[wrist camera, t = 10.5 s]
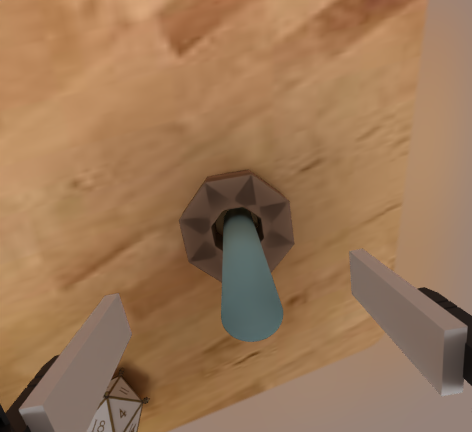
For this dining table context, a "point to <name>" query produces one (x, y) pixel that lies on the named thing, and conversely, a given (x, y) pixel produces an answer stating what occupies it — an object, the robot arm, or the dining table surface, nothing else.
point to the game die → (118, 408)
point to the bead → (228, 197)
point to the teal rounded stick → (247, 281)
